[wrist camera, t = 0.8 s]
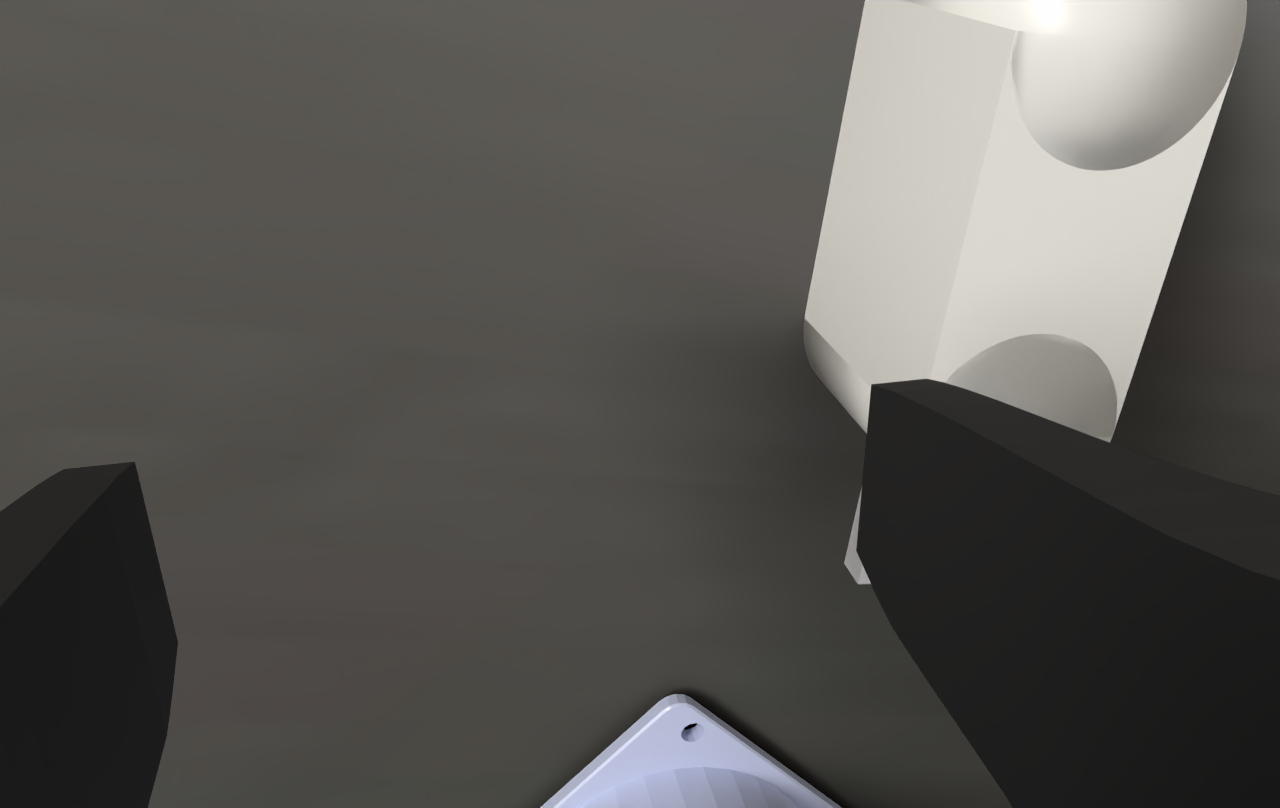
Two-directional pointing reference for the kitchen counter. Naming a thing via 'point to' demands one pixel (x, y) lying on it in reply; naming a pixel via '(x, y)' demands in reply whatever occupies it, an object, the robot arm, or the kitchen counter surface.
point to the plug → (1012, 197)
